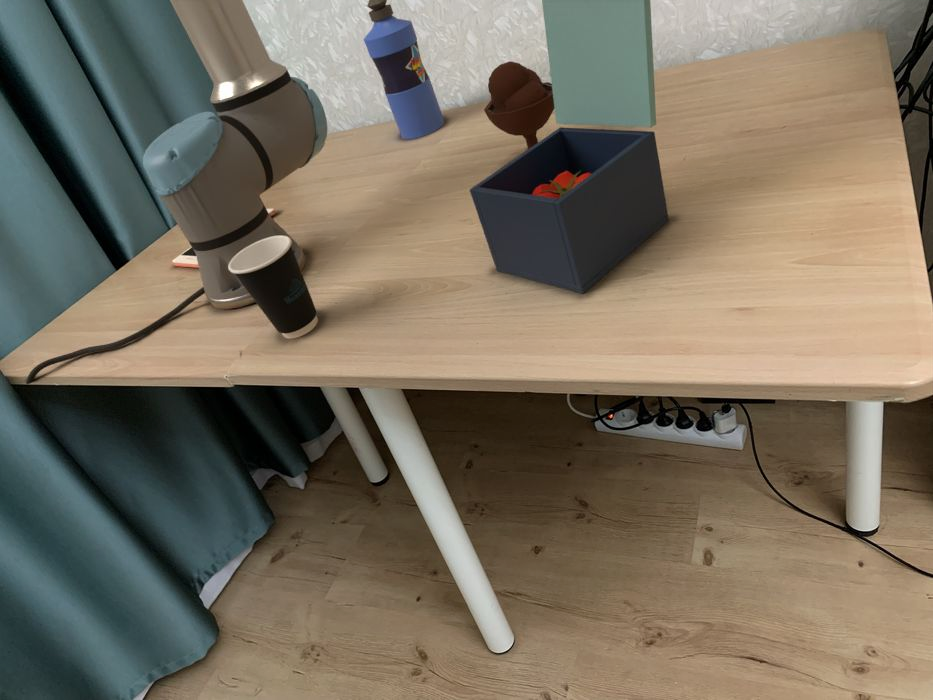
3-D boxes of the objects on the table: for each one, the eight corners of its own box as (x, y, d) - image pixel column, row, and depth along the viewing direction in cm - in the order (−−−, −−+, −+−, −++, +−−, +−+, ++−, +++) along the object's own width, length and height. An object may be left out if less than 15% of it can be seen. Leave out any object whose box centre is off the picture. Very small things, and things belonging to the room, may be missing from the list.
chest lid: (641, -52, 65) (647, -53, 66) (538, -32, 75) (544, -34, 76) (650, 127, 73) (656, 125, 74) (556, 123, 83) (561, 121, 84)
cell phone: (277, 212, 125) (275, 208, 124) (202, 268, 114) (199, 263, 114) (247, 212, 130) (245, 208, 130) (173, 266, 120) (170, 261, 119)
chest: (583, 294, 73) (559, 203, 67) (496, 270, 83) (469, 189, 77) (669, 220, 80) (654, 131, 74) (579, 206, 90) (560, 127, 84)
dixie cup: (275, 320, 91) (234, 248, 85) (331, 301, 91) (294, 227, 84) (267, 354, 85) (221, 279, 79) (327, 334, 84) (286, 256, 78)
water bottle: (394, 143, 136) (342, 9, 122) (409, 124, 143) (362, -4, 129) (436, 133, 132) (388, -5, 119) (450, 114, 139) (406, -19, 125)
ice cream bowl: (575, 159, 102) (550, 56, 94) (502, 181, 104) (472, 82, 96) (568, 135, 111) (545, 38, 102) (500, 155, 113) (472, 63, 104)
